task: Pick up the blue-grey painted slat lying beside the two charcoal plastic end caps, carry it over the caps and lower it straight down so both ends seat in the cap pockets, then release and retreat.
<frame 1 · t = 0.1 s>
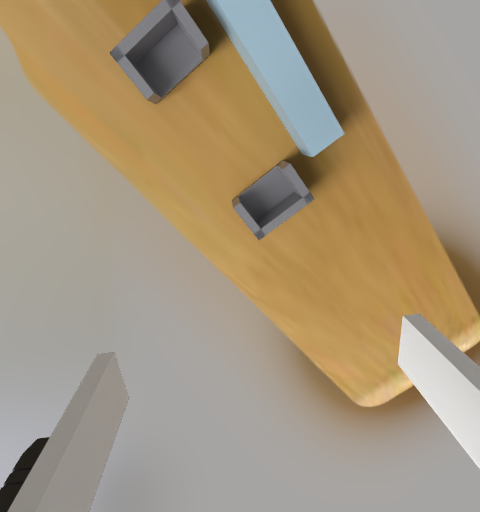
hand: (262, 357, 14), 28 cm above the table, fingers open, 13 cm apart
end caps: (221, 133, 36), on the table
slat: (269, 68, 34), on the table
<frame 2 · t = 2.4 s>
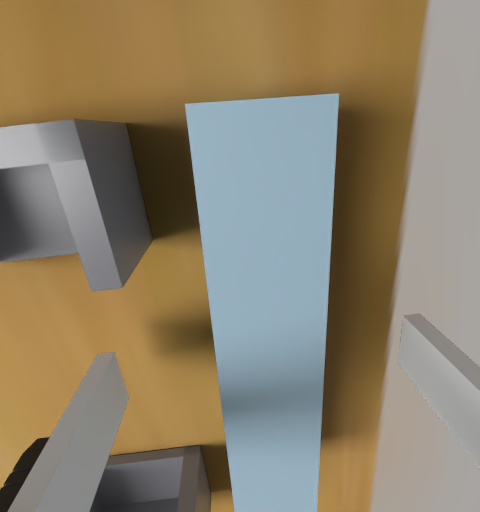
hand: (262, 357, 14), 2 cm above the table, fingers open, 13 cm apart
end caps: (107, 368, 17), on the table
slat: (258, 316, 16), on the table
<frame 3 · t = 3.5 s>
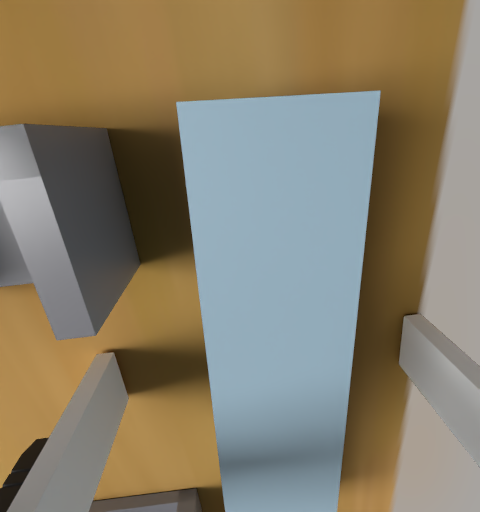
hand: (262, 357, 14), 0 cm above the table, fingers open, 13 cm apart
end caps: (90, 406, 15), on the table
slat: (262, 347, 14), on the table
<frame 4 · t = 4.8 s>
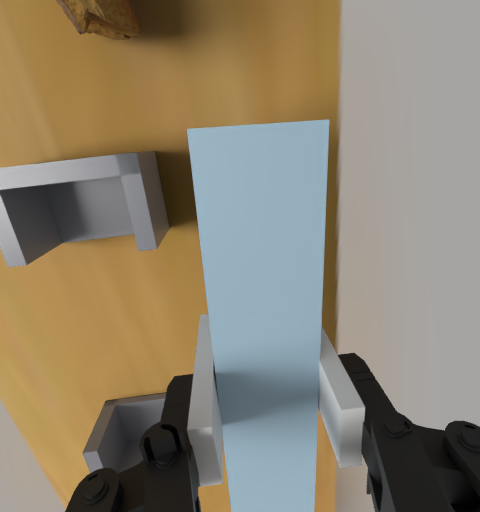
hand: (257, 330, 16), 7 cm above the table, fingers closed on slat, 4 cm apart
end caps: (134, 323, 23), on the table
slat: (255, 325, 17), point 6 cm above the table, touching gripper
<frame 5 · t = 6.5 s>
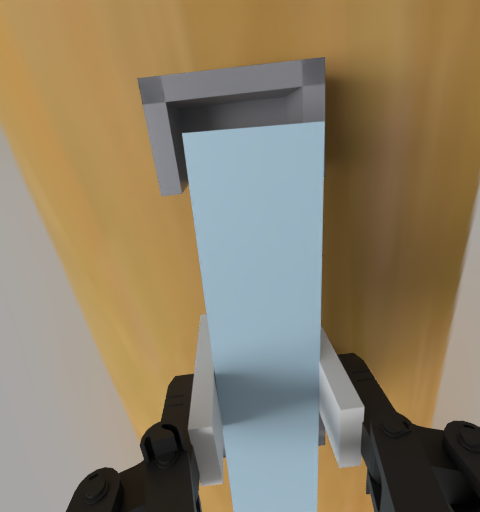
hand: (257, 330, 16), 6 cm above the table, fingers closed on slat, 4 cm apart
end caps: (249, 275, 22), on the table
slat: (255, 327, 17), point 6 cm above the table, touching gripper
when the fingers open (0 cm above the table, at t = 8.5 s): slat stays where it is, resting on end caps.
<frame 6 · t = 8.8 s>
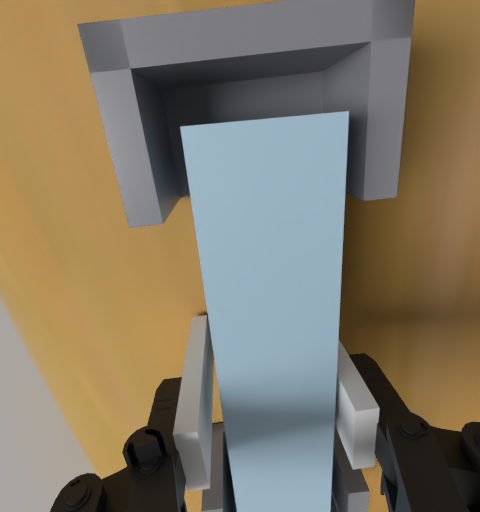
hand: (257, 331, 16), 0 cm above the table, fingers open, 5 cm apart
end caps: (262, 320, 16), on the table
slat: (263, 335, 16), point 1 cm above the table, touching end caps
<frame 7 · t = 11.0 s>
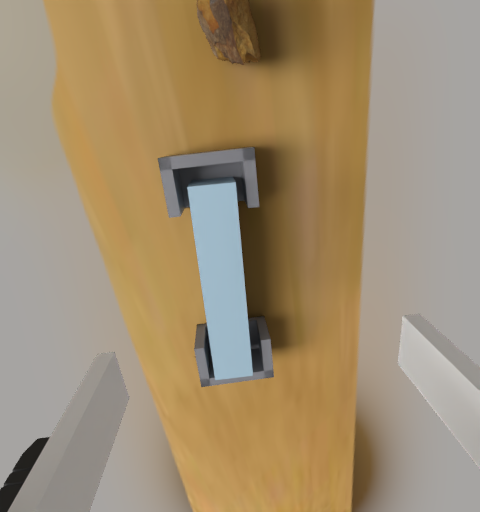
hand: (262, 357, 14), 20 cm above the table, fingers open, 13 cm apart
end caps: (223, 265, 34), on the table
rock: (220, 25, 26), on the table
slat: (223, 272, 33), point 1 cm above the table, touching end caps
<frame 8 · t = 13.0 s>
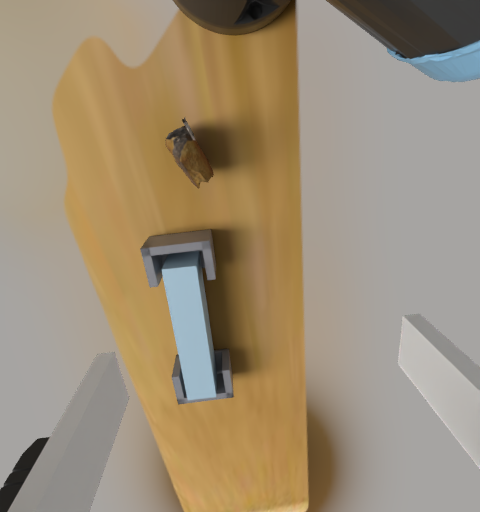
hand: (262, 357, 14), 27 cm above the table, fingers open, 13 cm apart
end caps: (195, 312, 44), on the table
rock: (186, 144, 36), on the table
slat: (194, 317, 43), point 1 cm above the table, touching end caps
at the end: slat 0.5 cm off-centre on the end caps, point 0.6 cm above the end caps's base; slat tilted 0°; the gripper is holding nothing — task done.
